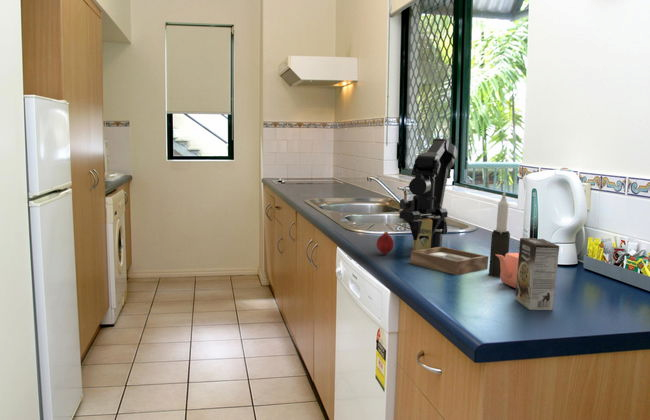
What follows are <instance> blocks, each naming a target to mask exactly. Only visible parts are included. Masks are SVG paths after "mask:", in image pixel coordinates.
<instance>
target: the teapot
mask: <svg viewBox="0 0 650 420" xmlns="http://www.w3.org/2000/svg"><path fill="white" fill-rule="evenodd" d="M496 256H497V257H499V259H500V269H501V273H500V277H499V278H500V281H501V282H502V283H503V284H505V285H507V286H510V287H511V288H514V289H516V284H517V272H518V259H519V252H509V253H506V255H505V257H504V256H502V255H496Z"/></svg>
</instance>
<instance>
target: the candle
mask: <svg viewBox="0 0 650 420" xmlns="http://www.w3.org/2000/svg"><path fill="white" fill-rule="evenodd" d="M509 206H510V205H509V202H508V200H507V198H506V192H503V193H502V196H501V199H500V201H499V202H498V204H497V216H496V218H497V219H496V229H494V230H493V231H492V232H491V240H490V242H491V243H490V254H489V264H488V265H489V266H488V276H489V277H494V278H495V277H496V278H501V277H500V273H501V269H500V259H499V257H497V256H496V255H502V256H504V257H505V255H506V253H510V252H509V251H510V241H511V240H510V239H511V233H510V231H509V230H508V229H507V228H508V218H509V217H508V216H509Z"/></svg>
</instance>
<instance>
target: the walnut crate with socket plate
mask: <svg viewBox="0 0 650 420" xmlns="http://www.w3.org/2000/svg"><path fill="white" fill-rule="evenodd" d="M409 263H410V264H411V265H415V266H419V267H423V268H427V269H432V270H434V271H435V270H436V271H438V272H442V273H448V274H451V275H455V276H456V275H457V276H458V275H462V274H468V273H473V272H477V271H482V270H483V269H484V270H488V269H489V266H488V265H489V255H484V254H480V253H476V252H470V251H465V250H460V249H455V248H451V247H446V246H442V247H436V248H429V249H423V250H416V251H413V250H411V251H410V262H409Z"/></svg>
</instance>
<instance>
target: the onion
mask: <svg viewBox="0 0 650 420" xmlns="http://www.w3.org/2000/svg"><path fill="white" fill-rule="evenodd" d="M394 245H395V242H394V239H393V237H392V236H391V235H390V234H389V232H388V231H387V230H386V231H384V232H383V234H382V235H380V236H379V237H378V238H377V240H376V247H377V250H378V251H379V252H380V253H381V254H382V255H387V254H389V253H390V252H391V251H392V250H393V249H394Z"/></svg>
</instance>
